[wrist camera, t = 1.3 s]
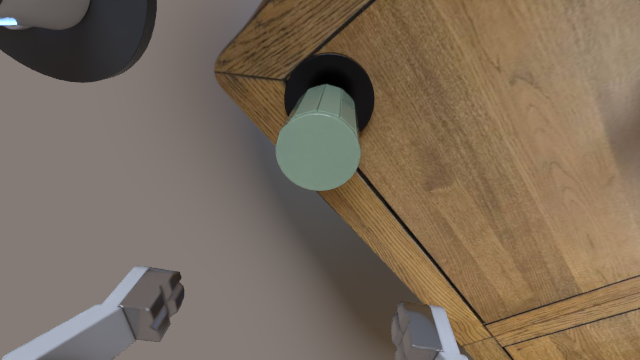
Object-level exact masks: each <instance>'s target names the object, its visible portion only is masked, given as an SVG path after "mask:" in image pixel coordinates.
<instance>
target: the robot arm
mask: <svg viewBox="0 0 640 360" xmlns="http://www.w3.org/2000/svg"><path fill="white" fill-rule="evenodd" d="M89 3H90V0H0V25H3V26H4V27H6V28H8V29H12V30H24V29H28V28H31V27H40V28H46V29H52V30H63V29H68V28H71V27H73V26H75V25H76V24H78V23H79V22H80V21H81V20H82V19H83V17H84V16H85V14H86V12H87V10H88V7H89ZM180 280H181V275H180V272H177V271H170V270H163V269H157V268H152V267H145V266H136V267H135V268H133V269H132V270H131V271H130V272H129V273H128V275H127V276H126V277H125V278H124V279H123V280H122V281H121V283H120V284H119V285H118V286H117V287H116V288H115V290H114V291H113V292H112V293H111V294H110V295H109V297H108V298H107V299H106V300H105V301H104V302H103V303H102V305H101V304H97V305H95V306H93V307H91V308H89V309H88V310H86V311H84V312H82V313H81V314H79V315H77V316H75V317H73V318H71V319H70V320H68V321H66V322H64V323H62V324H61V325H59V326H57V327H55V328H53V329H51V330H50V331H48V332H46V333H44V334H42V335H41V336H39V337H37V338H35V339H33V340H32V341H30V342H28V343H26V344H24V345H23V346H21V347H19V348H17V349H15V350H13V351H12V352H10V353H8V354H6V355H5V356H4V357H3V358H2V359H1V360H113V359H114V358H115V357H116V356H118V355H119V354H120V353H121V352H123V351H124V350H125V349H126V348H128V347H129V346H130V345H131V344H133V343H134V342H135V341H136V340H145V341H154V342H160V341H161V339H162V338H163V336H164V334H165V333H166V331H167V329H168V327H169V326H170V317H171V316H172V315H174V314H175V313H177V312H178V310H179V308H180V306H181V304H182V301H183V298H184V287H183V285H182V284H181V283H180V282H179V281H180ZM397 311H398V313H396V314H395V315H394V316H393V320H392V326H391V333H392V341H393V343H394V345H395V346H396V347H397V350H396V352H395V360H469V359H468V358H467V357H466V356H465V355H461V354H460V352H459V349H458V346H457V343H456V340H455V337H454V334H453V332H452V329H451V326H450V323H449V320H448V317H447V314H446V311H445V309H444V308H443V307H440V306H432V305H427V304H418V303H411V302H402V301H401V302H399V303H398V306H397ZM135 339H136V340H135Z"/></svg>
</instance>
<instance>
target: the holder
mask: <svg viewBox="0 0 640 360" xmlns="http://www.w3.org/2000/svg"><path fill="white" fill-rule="evenodd" d="M323 84H325V86H326V84H328V85H331V86H335V87H339V88H341V90H342V89H343V90H344V91H345V92H346V93H347V94H348V95H349V96H350V97H351V98H352V99H353V101H354V103H355V108H356V112H357V117H358V127H359V133H360V132H361V131H362V130H363V129H364V127H365V126H366V125H367V123H368V121H369V120H370V117H371V115H372V112H373V108H374V90H373V87H372V83H371V81H370V78H369V76H368V74H367V73H366V71H365V70H364V69H363V67H362V66H361V65H360V64H359V63H358V62H356V61H355V60H354V59H352V58H350V57H348V56H346V55H343V54H340V53H334V52H326V53H320V54H316V55H314V56H311V57H309V58H308V59H306V60H305V61H303V62H302V63H301V64H300V65H299V66H298V67H297V68H296V69H295V70H294V71H293V73H292V74H291V76H290V78H289V80H288V82H287V85H286V89H285V96H284V100H285V109H286V112H287V115H288V117H289V115H290V113H291V112H292V110H293V108H294V107H295V105H296V103H297V102H298V100H299V99H300V98H301V97H302V96H303V95H304V93H305V92H306V91H307V90H308V89H310V88H313V87H316V86H320V85H323Z"/></svg>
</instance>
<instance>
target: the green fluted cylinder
mask: <svg viewBox="0 0 640 360" xmlns="http://www.w3.org/2000/svg"><path fill="white" fill-rule="evenodd" d="M360 155H361V145H360V136H359V127H358V117H357V112H356V108H355V103H354V101H353V99H352V98H351V97H350V96H349V95H348V94H347V93H346V92H345V91H344V90H343V89H342V90H341V88H339V87H335V86H331V85H328V84H326V86H325V84H323V85H320V86H316V87H313V88H310V89H308V90H307V91H306V92H305V93H304V95H303V96H302V97H301V98H300V99H299V100H298V102H297V103H296V105H295V107H294V108H293V110H292V112H291V113H290V115H289V117H288V118H287V120H286V122H285V124H284V125H283V127H282V129H281V130H280V132H279V137H278V139H277V143H276V158H277V162H278V164H279V166H280V168H281V170H282V172H283V173H284V174H285V176H286V177H287V178H288V179H289V180H291V181H292V182H293V183H294V184H296V185H298V186H300V187H302V188H305V189H308V190H314V191H326V190H331V189H334V188H337V187H339V186H341V185H343V184H344V183H346V182H347V181H348V180H349V179H350V178H351V177H352V176H353V175H354V173H355V171H356V170H357V167H358V165H359V161H360Z"/></svg>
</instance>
